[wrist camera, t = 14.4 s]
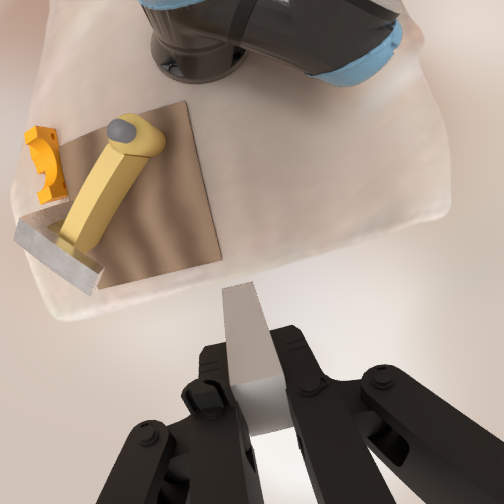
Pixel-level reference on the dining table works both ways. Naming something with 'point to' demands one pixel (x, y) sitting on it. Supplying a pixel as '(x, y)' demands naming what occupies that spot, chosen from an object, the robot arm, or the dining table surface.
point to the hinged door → (111, 179)
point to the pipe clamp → (47, 162)
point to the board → (150, 205)
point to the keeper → (57, 247)
